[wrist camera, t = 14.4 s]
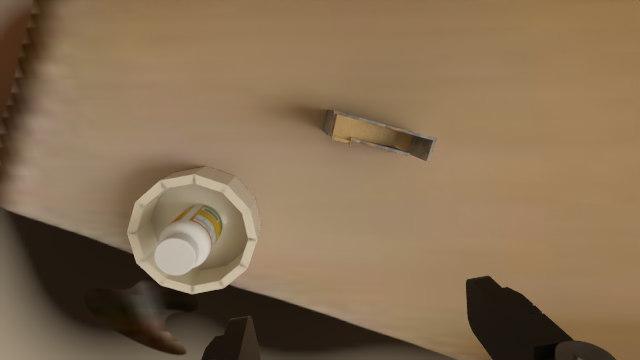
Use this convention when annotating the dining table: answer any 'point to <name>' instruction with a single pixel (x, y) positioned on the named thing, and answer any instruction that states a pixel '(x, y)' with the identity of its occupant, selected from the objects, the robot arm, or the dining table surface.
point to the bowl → (178, 196)
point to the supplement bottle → (188, 240)
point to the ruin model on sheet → (378, 135)
